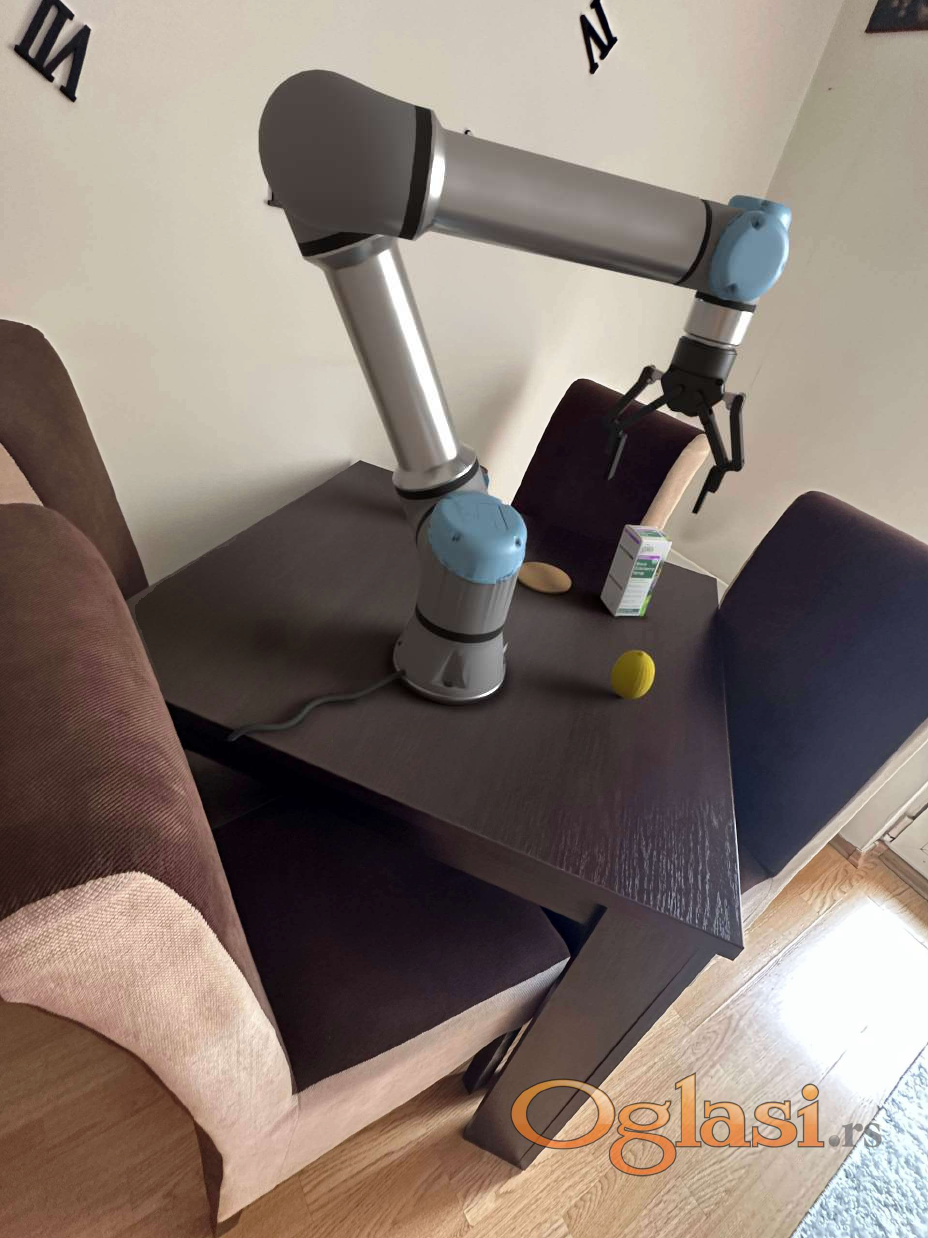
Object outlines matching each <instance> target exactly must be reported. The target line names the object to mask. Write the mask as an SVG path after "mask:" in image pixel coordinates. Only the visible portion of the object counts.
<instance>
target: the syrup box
mask: <svg viewBox="0 0 928 1238" xmlns="http://www.w3.org/2000/svg"><path fill="white" fill-rule="evenodd" d="M672 543H673V541H672V540H671V538H670V537H669V536H668V535H667V534H666V533H665V532H664V531H662V529H660V528H659V527H657V526H656V525H650V526H649V525H634V524H633V525H632V524H625V525H624V528H623V529H622V533H621V537H620V539H619V541H618V545H617V548H616V550H615V554H614V557H613V560H612V563H611V565H610V569H609V571H608V575H607V577H606V580H605V583H604V586H603V589H602V591H601V594H600V600H601V601H602V602H603V604H604V605H605V607H606V608H607V609H608V610H609V612H610V613H611V614H612V616H613V617H621V616H622V617H625V616H626V617H628V616H629V617H644V614H645V612H646V609H647V607H648V605H649V603H650V600H651V597H652V594H653V592H654V589H655V587H656V584H657V582H658V579H659V577H660V574H661V571H662V569H663V566H664V564H665V562H666V559H667V556H668V554H669V551H670V549H671V546H672Z"/></svg>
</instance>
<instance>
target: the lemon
mask: <svg viewBox="0 0 928 1238" xmlns="http://www.w3.org/2000/svg"><path fill="white" fill-rule="evenodd" d="M655 668H656V667H655V662H654V661H653V659H652V658H651V656H650V655H649V654H647V653H646V652H645V651H643V650H637V649H631V650H628V651H625V652H623V653H622V654H621V655H620V656H619V657H618V658H617V659H616V661H615V663H614V664H613V666H612V669H611V673H610V683H611V687H612V688H613V689H612V690H614V692H615V693H616V694H617V695H619V696H620V697H621V698H622V699H629V700H634V699H638V698H640V697H642V696H644V695H645V694H646V693H647V692H648V691H649V690H650V688H651V686H652V684H653V682H654V679H655V672H656V669H655Z"/></svg>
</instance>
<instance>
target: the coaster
mask: <svg viewBox="0 0 928 1238" xmlns="http://www.w3.org/2000/svg"><path fill="white" fill-rule="evenodd" d="M517 580H518V582H520V583H521V584H523V585H524V586H526V587H527V588H529V589H532V590H534V591H536V592H540V593H545V594H551V595H553V594H555V595H556V594H557V595H558V594H563V593H566V592H567V591H569V589H570V588H571V586H572V580H571V578H570V576H569V575H568V574H567V573H566V572H564V571H563V570H562V569H560V568H558V567H556V566H554V565H551V564H549V563H544V562H540V561H539V562H538V561H528V562H527V561H526V562H522V564H521V567H520V570H519V574H518V577H517Z"/></svg>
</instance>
